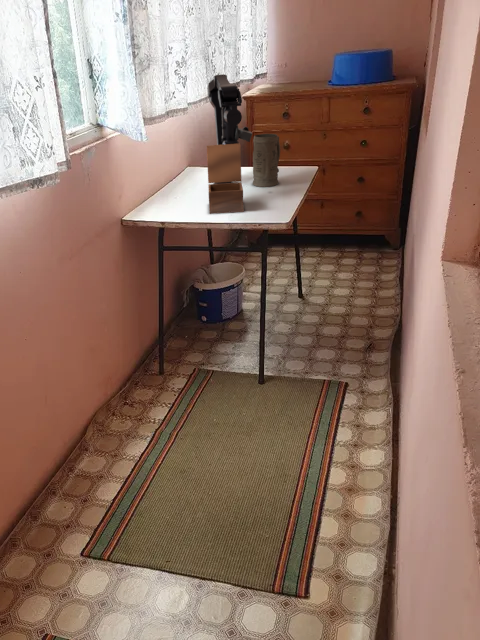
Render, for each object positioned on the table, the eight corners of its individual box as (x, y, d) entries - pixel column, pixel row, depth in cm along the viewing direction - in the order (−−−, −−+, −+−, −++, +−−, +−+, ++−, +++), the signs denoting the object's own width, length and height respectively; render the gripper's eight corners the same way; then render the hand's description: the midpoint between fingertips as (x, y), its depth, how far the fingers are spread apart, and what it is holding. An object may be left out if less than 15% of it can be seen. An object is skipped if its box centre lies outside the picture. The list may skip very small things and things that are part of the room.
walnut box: (243, 211, 224) (243, 190, 220) (209, 213, 224) (208, 192, 220) (241, 202, 234) (241, 182, 230) (209, 204, 235) (208, 184, 231)
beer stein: (270, 188, 251) (272, 136, 242) (247, 186, 256) (248, 135, 247) (286, 182, 262) (288, 132, 253) (263, 180, 267) (265, 131, 258)
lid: (240, 143, 225) (240, 143, 225) (206, 145, 225) (206, 145, 226) (241, 181, 230) (241, 181, 231) (208, 183, 231) (208, 183, 231)
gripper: (252, 124, 223) (252, 168, 231) (249, 117, 239) (249, 158, 247) (222, 126, 223) (223, 170, 231) (220, 119, 239) (222, 160, 247)
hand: (230, 164), depth 239 cm, fingers closed
